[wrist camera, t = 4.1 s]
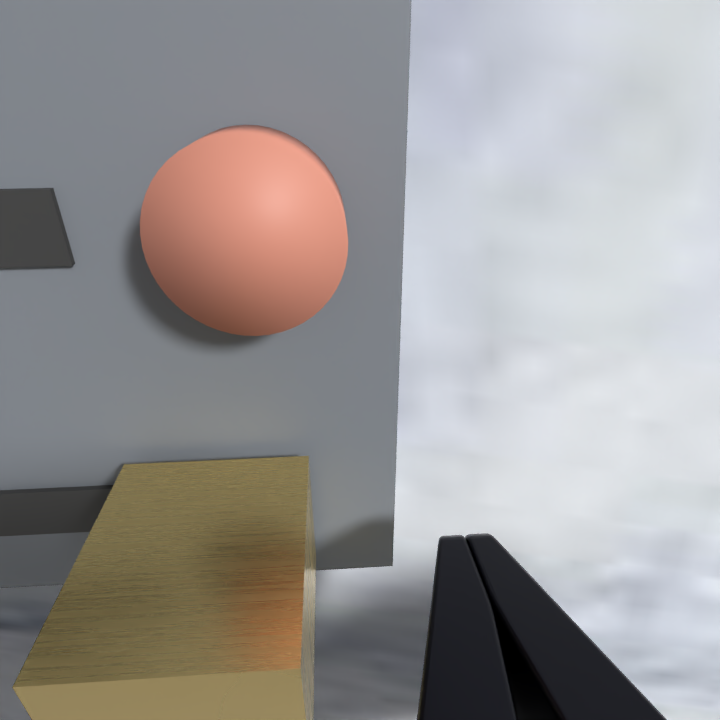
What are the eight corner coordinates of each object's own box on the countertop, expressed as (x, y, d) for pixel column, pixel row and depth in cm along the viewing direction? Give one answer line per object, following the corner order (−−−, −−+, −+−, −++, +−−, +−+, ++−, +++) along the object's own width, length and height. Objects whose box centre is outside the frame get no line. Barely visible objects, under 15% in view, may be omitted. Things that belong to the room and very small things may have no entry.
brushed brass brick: (154, 563, 10) (75, 792, 7) (123, 464, 8) (12, 687, 5) (316, 555, 10) (312, 774, 7) (308, 455, 9) (300, 668, 6)
